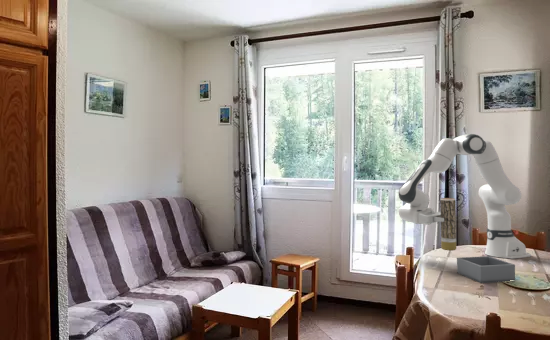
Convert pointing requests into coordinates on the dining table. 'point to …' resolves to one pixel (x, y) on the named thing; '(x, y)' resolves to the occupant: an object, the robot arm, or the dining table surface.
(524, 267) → the dining table surface
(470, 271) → the box
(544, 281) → the dining table surface
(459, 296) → the dining table surface
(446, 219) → the wooden log
